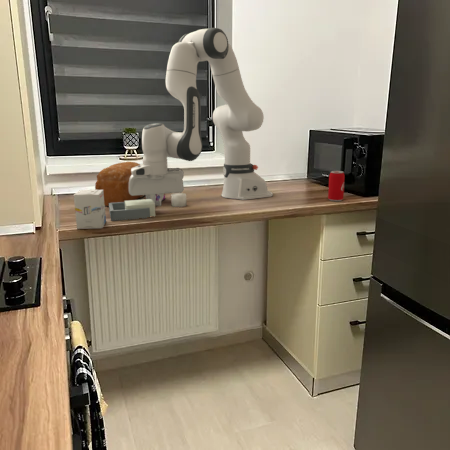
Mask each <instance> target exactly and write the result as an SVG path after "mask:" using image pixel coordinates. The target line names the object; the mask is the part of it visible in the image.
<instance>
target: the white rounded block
mask: <svg viewBox="0 0 450 450" xmlns="http://www.w3.org/2000/svg"><path fill="white" fill-rule="evenodd" d="M170 198H171V201H170V202H171V207H175V208H183V207H186V206H187V194H186V193H184V192H182V193H170Z"/></svg>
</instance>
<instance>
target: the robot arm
mask: <svg viewBox="0 0 450 450" xmlns="http://www.w3.org/2000/svg"><path fill="white" fill-rule="evenodd" d="M206 61H207V62H208V63H209V66H210V67H209V68H210V71H211V76H212V79H213V83H214V86H215V91H216V92H217V95H218V96H219V97H220V98H221V99H222V100H223V101H224V102H225V103H226V104H222V105H219V106H216V108H215V109H214V110H213V112H212V122H213V124H214V126H216V128H217V130H218V131H219V133H220V135H221V139H222V142H223V149H224V151H223V152H224V163H223V168H222V170H223V171H222V172H223V179H224V180H223V187H222V192H221V197H222V198H225V199H235V200H241V201H242V200H243V201H245V200H246V201H247V200H253V199H260V198H261V199H263V198H271V197H273V196H274V195H273V192H272V191H270V190H268V185H267V181H266V180H265V179H264V178H262V177H261V176H260V175H259V174H257V173H256V172H255V171H257V170H258V169H259V166H258V165H257V164H253V163H251V145H250V143H249V142H248V141H247V140H246V138H245V136H244V134H243V132H252V131H256V130H258V129H260V128H261V126H263V123H264V119H265V118H264V112H263V110H262V109H261V107H259V106H258V105H257V104H256V103H255V102H254V101H253V100H252V98H251V97H250V95H249V93H248V92H247V90H246V88H245V85H244V81H243V78H242V74H241V71H240V68H239V67H240V66H239V63H238V59H237V57H236V55H235V52H234V49H233V47H232V45H231V44H230V43H229V40H228V36H227V34H226V33H225V32H224V31H223V29H221V28H218V27H210V28H202V29H201V28H200V29H197V30H195V31H192V32H187V33H185V34H184V35H182V36H181V37H180V38H179V40H178V42H175V44H173V46H172V47H171V50H170V53H169V56H168V60H167V65H166V73H165V74H166V75H165V88H166V90H167V92H168V93H169V94H170V95H171V96H172V97H173V98H174V99H176V100H178V101H179V102H180V103H181V105H182V106H183V109H184V113H183V114H184V115H183V117H184V119H183V121H184V124H183V131H182V132H181V131H180V132H178V131H174V130H171V129H170V128H168V127H166V126H165V124H164V123H162V122H154V123H153V122H152V123H148V124H146V125H145V126H143V129H142V133H141V149H142V154H143V157H142V163H141V164H140V165H139V166H136V167H133V168H132V169H131V173H132V175H131V176H130V178H129V194H130V195H132V196H134V195H144V196H146V195H150V198H151V199H152V201H153V202H154V204H155V207H160V206H162V202H163V201H162V199H163V197H164V194H165V195H166V194H174V193H184V190H185V188H184V187H185V186H184V181H183V179H184V176H185V175H184V171H183V169H182V168H180V167H168V158H172V159H180V160H183V161H187V162H194V161H195V160H197V159H198V158H199V156H200V155H201V153H202V150H203V139H202V133H201V127H202V126H201V123H202V122H201V120H202V119H201V118H202V117H201V116H202V115H201V111H202V109H201V95H200V92H199V90H198V88H197V72H198V65H199V62H206ZM154 194H159V196H160V199H159V200H157V201H155V200H154V199H153V197H154Z"/></svg>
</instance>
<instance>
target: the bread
mask: <svg viewBox="0 0 450 450" xmlns="http://www.w3.org/2000/svg"><path fill="white" fill-rule="evenodd" d="M139 165H141V164H140V163H138V162H135V161H123V162H118V163H115V164H112V165H110V166H107V167H105V168H102V170H100V171H99V172H98V173H97V174H96V181H95V182H94V183H95V184H94V185H95V186H94V190H103V193H104V204H105V207H109V203H116V202H125V201H129V200H139V199H141V198H142V197H144V196H145V195H134V196H132V195H130V194H129V178H130V176H131V175H132V173H131V169H132V168H133V167H136V166H139Z"/></svg>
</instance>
